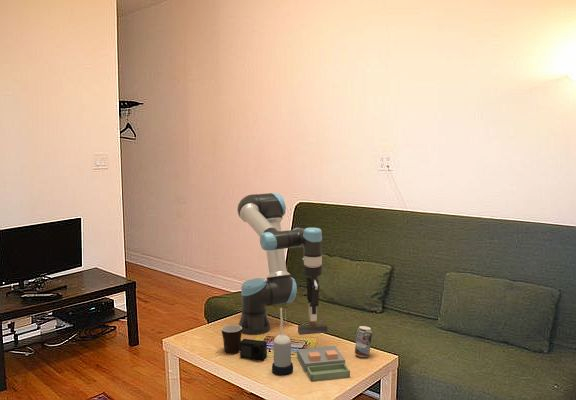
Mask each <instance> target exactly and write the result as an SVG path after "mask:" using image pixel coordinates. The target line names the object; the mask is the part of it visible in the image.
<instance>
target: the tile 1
mask: <svg viewBox="0 0 576 400" xmlns="http://www.w3.org/2000/svg"><path fill="white" fill-rule="evenodd" d="M308 358H309V360H310V361H321V356H320V354H319V352H308Z"/></svg>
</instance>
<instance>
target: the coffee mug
mask: <svg viewBox="0 0 576 400" xmlns="http://www.w3.org/2000/svg"><path fill="white" fill-rule="evenodd" d="M221 334H222V336H221V337H222V343H223V349H224V353H225V354H227V355H235V354H240V342H241V341H242V340H241V339H242V334H243V333H242V327H241V326H239V324H228V325H224V326H222V327H221Z"/></svg>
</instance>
